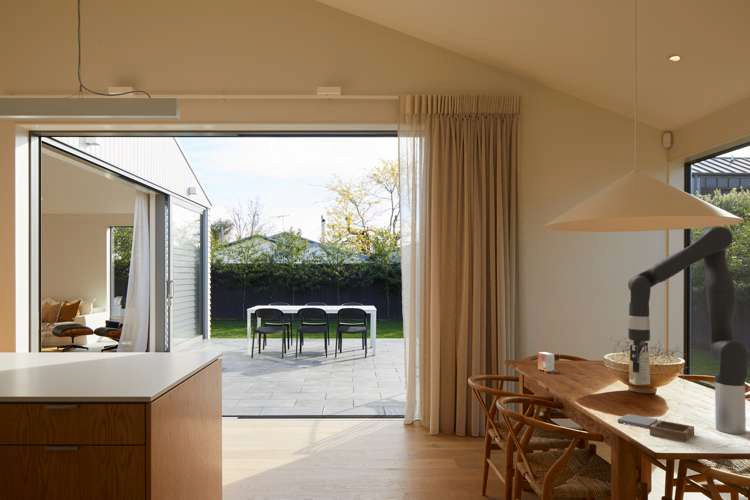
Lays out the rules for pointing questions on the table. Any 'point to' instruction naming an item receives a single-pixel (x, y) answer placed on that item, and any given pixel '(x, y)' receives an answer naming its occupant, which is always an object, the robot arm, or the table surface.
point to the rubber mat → (637, 420)
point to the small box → (545, 361)
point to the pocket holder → (672, 431)
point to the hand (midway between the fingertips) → (639, 370)
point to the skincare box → (640, 370)
